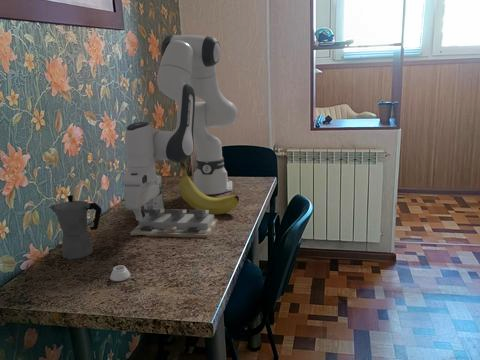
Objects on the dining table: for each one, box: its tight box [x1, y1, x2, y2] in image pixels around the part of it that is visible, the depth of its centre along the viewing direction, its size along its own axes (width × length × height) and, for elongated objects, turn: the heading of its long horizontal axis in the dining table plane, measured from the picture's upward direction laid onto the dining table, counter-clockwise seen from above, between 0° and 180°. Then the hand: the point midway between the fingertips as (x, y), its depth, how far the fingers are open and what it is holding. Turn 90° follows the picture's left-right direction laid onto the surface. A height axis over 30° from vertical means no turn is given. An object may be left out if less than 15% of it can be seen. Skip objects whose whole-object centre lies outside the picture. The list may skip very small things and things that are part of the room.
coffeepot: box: [49, 194, 103, 260], centre depth 128 cm, size 15×9×18 cm, turn 85°
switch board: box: [129, 218, 219, 239], centre depth 147 cm, size 15×26×2 cm, turn 80°
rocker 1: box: [142, 208, 166, 217], centre depth 149 cm, size 9×4×2 cm, turn 170°
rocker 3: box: [188, 209, 209, 218], centre depth 147 cm, size 9×4×2 cm, turn 170°
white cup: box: [109, 264, 131, 282], centre depth 113 cm, size 5×3×5 cm
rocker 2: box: [165, 208, 188, 217], centre depth 148 cm, size 9×4×2 cm, turn 170°
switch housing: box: [138, 212, 215, 229], centre depth 149 cm, size 9×24×2 cm, turn 80°
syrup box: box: [143, 174, 165, 217], centre depth 162 cm, size 6×6×14 cm
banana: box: [178, 161, 240, 215], centre depth 159 cm, size 23×6×20 cm, turn 78°
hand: (145, 215), depth 142 cm, fingers open, 8 cm apart
